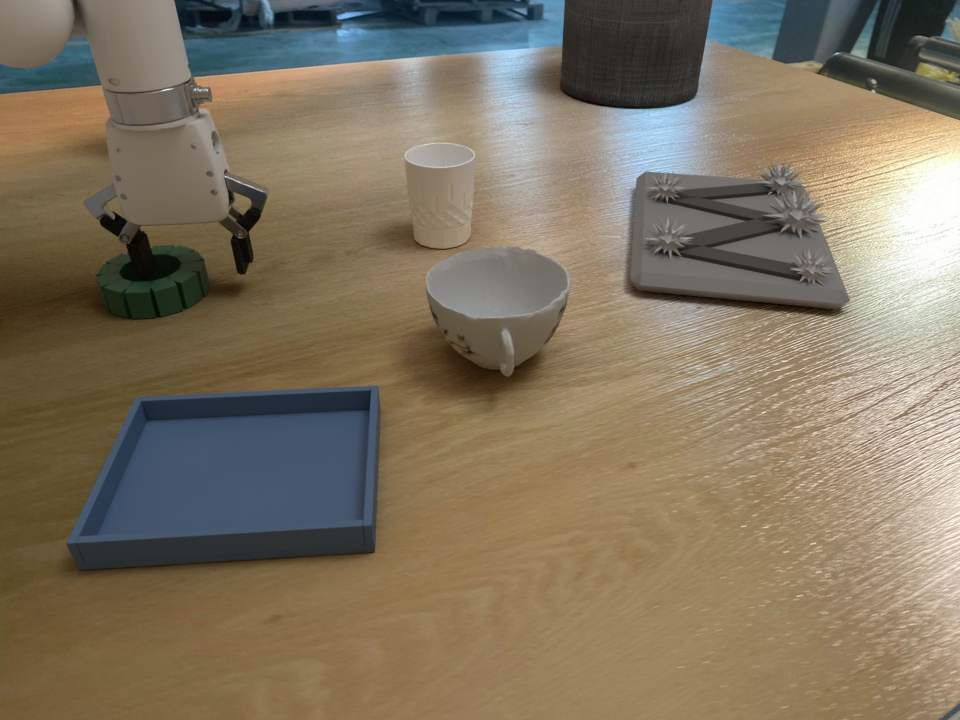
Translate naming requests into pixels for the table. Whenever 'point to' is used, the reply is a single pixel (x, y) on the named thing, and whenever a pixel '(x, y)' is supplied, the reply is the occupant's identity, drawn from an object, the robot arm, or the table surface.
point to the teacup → (497, 303)
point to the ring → (154, 283)
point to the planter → (633, 50)
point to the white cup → (440, 193)
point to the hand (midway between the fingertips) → (196, 270)
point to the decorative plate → (733, 240)
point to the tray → (235, 479)
